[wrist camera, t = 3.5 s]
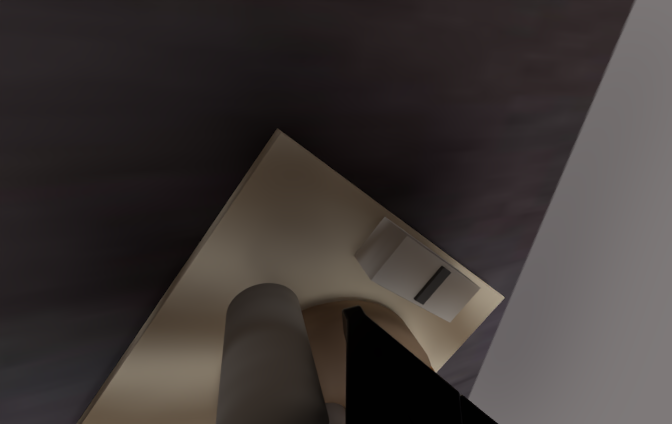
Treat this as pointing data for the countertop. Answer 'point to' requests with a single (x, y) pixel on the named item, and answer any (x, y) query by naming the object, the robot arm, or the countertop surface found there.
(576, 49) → the countertop surface
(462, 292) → the stand
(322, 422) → the crank handle
